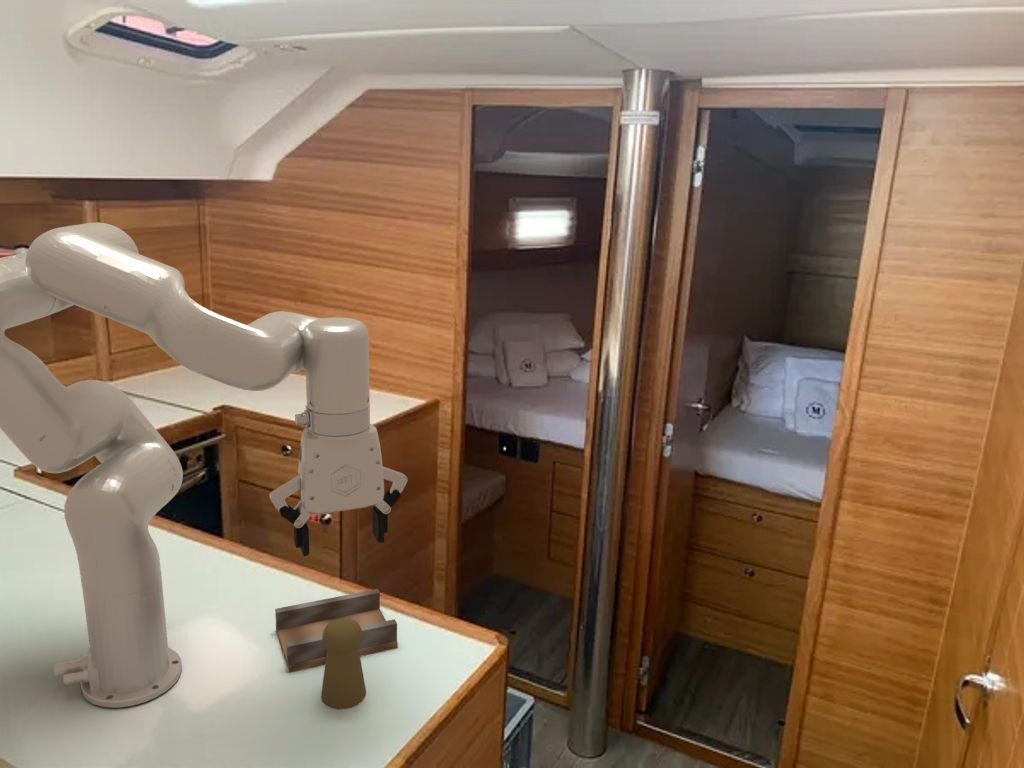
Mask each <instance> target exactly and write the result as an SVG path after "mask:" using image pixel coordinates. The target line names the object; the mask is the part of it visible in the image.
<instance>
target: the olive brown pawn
mask: <svg viewBox="0 0 1024 768" xmlns="http://www.w3.org/2000/svg"><path fill="white" fill-rule="evenodd" d="M361 640H362V630H361V627H360V625H359V624H358V623H357V622H356V621H355V620H352V619H347V618H341V619H336V620H334V621H331V622H330V623H329V624H328V625H327V626H326V627H325V629H324V632H323V643H324V646H325V648H326V649H327V654H326V662H325V664H324V671H323V680H322V687H321V694H320V695H321V696H320V699H321V702H322V703H323V704H324V705H325V706H326V707H329V708H330V709H335V710H347V709H351V708H354V707H356V706H359V705H360V704H361V703H362V702H363V701H364V700H365V697H366V695H367V689H366V683H365V677H364V672H363V666H362V660H361V659H362V658H361V656H360V653H359V647H358V646H359V645H360V644H361Z"/></svg>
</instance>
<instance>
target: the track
mask: <svg viewBox="0 0 1024 768" xmlns="http://www.w3.org/2000/svg"><path fill="white" fill-rule="evenodd" d="M380 594H381V593H380V591H379V588H375V589H370V590H366V591H360V592H354V593H350V594H345V595H339V596H334V597H329V598H324V599H318V600H314V601H307V602H303V603H298V604H292V605H288V606H282V607H278V608H274V609H275V610H274V611H275V631H276V635H277V638H278V641H279V644H280V649H281V652H282V654H283V657H284V661H285V664H286V668H287V671H288V673H293V672H297V671H301V670H302V671H303V670H306V669H310V668H314V667H315V668H316V667H319V666H325V662H326V654H327V649H326V648H325V646H324V643H323V632H324V629H325V627H326V626H327V625H328V624H329V623H330V622H331V621H334V620H336V619H341V618H347V619H352V620H355V621H356V622H357V623H358V624H359V625H360V627H361V630H362V640H361V644H360V645H359V646H358V647H359V653H360V657H363V656H367V655H368V656H369V655H372V654H375V653H381V652H384V651H389V650H390V651H391V650H393V649H398V646H399V645H398V644H399V643H398V623H397V621H396V619H395V618H394V619H390V620H389V619H388V620H386V618H385V616H384V614H383V611H382V610H381V595H380Z"/></svg>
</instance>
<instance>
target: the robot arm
mask: <svg viewBox="0 0 1024 768" xmlns="http://www.w3.org/2000/svg"><path fill="white" fill-rule="evenodd" d="M185 283H186V282H185V279H184V276H183V274H182V273H181V271H180V270H178V269H177V268H175V267H173V266H170V265H168V264H165V263H163V262H160V261H158V260H156V259H152V258H151V257H147V256H145V255H142V254H140V253H139V249H138V247H137V244H136V242H135V241H134V239H132V237H131V236H130V235H129V234H127V233H126V231H124V230H122V229H121V228H119V227H118V226H115V225H112V224H109V223H106V222H97V221H96V222H87V223H80V224H73V225H67V226H61V227H56V228H53V229H50V230H48V231H45V232H43V233H42V234H40V235H39V236H38V237H36V238H35V239H34V240H33V241H32V243H31V244H30V245H29V248H28V249H27V251H24V252H21V253H18V254H13V255H8V256H3V257H0V429H1V431H2V432H3V433H4V434H5V435H6V437H7V438H8V439H9V440H10V441H11V442H12V443H13V445H14V446H15V447H16V448H17V449H18V450H19V451H20V452H21V454H22V455H23V456H24V457H25V458H26V459H27V460H28V461H29V462H30V463H31V464H32V465H34V466H35V467H36V468H37V469H39V470H41V471H43V472H44V473H50V474H60V473H65V472H68V471H70V470H72V469H75V468H76V467H79V466H80V465H81V464H84V463H85V462H86V461H89V460H90V459H92V458H93V457H95V458H96V459H97V460H98V461H99V462H100V464H98V465H97V466H95V467H94V468H92V469H91V470H90V471H89V472H87V473H85V475H83V476H82V477H81V478H80V479H78V481H77V482H76V483H75V484H74V485H73V487H72V488H71V489H70V491H69V493H68V494H67V495H66V499H65V502H64V508H63V513H64V521H65V524H66V527H67V529H68V532H69V534H70V537H71V540H72V542H73V545H74V550H75V553H76V557H77V561H78V562H77V563H78V569H79V575H80V577H79V578H80V584H81V589H82V597H83V605H84V613H85V621H86V627H87V628H86V629H87V637H88V643H89V644H88V646H89V647H88V654H86V655H81V656H80V659H75V660H67V661H61V662H57V663H54V664H53V665H54V666H53V672H54V673H53V674H54V679H59V678H63V685H64V686H68V685H73V684H76V683H80V689H81V693H82V696H83V697H84V699H86V701H88V702H89V703H90V704H92V705H96V706H99V707H104V708H112V709H113V708H114V709H115V708H117V709H118V708H125V707H126V708H127V707H132V706H136V705H140V704H143V703H147V702H148V701H151V700H153V699H155V698H157V697H159V696H160V695H162V694H165V693H166V692H167V691H168V690H169V689H170V688H172V687H173V686H174V685H175V684H176V682H178V680H179V678H180V677H181V675H182V671H183V668H182V667H183V666H182V665H183V664H182V658H181V657H180V655H179V653H178V652H176V651H175V650H173V649H172V648H169V643H168V642H169V641H168V633H167V632H168V631H167V623H166V611H165V609H166V608H165V599H164V598H165V597H164V589H163V588H164V587H163V578H162V577H163V576H162V569H161V559H160V554H159V551H158V547H157V544H156V543H155V541H154V539H153V538H152V536H151V534H150V532H149V523H150V520H152V518H153V517H155V515H156V514H157V513H159V511H160V510H161V509H162V508H164V507H165V506H166V505H167V504H168V503H169V502H171V500H172V499H173V498H174V497H175V496H176V495H177V494H178V492H179V490H180V489H181V486H182V485H183V484H182V483H183V481H184V480H183V479H184V478H183V477H184V476H183V475H184V473H183V471H184V470H183V467H182V464H181V462H180V459H179V458H178V456H177V454H176V453H175V451H174V450H173V448H172V447H171V445H170V444H169V443H167V441H166V440H165V438H164V437H163V436H162V434H161V433H160V432H158V430H157V428H155V426H153V424H152V423H151V421H149V419H148V418H147V417H146V416H145V414H144V413H143V412H142V411H141V410H140V409H139V407H138V406H137V405H136V404H135V403H134V401H133V400H132V399H131V397H129V396H128V394H126V393H125V392H124V391H122V390H121V389H120V388H118V387H117V386H115V385H113V384H111V383H108V382H105V381H102V380H99V379H98V380H97V379H85V380H81V381H76V382H74V383H72V384H70V385H67V386H65V385H64V384H63V383H62V382H60V380H59V379H58V378H57V377H56V376H55V375H54V373H53V372H51V370H50V369H49V368H48V366H47V365H46V364H45V362H43V361H42V360H41V359H40V358H39V357H38V356H37V355H36V354H34V353H33V352H32V351H31V350H29V349H28V348H26V347H25V346H23V345H21V344H19V343H17V342H16V341H14V340H11V338H9V337H7V336H6V335H5V331H6V330H8V329H10V328H14V327H18V326H20V325H24V324H27V323H30V322H32V321H35V320H39V319H42V318H46V317H47V316H50V315H54V314H56V313H59V312H61V311H63V310H65V309H68V308H70V307H73V306H75V307H76V306H77V307H79V308H81V309H84V310H86V311H89V312H92V313H94V314H97V315H100V316H102V317H105V318H107V319H109V320H113V321H114V322H117V323H120V324H122V325H125V326H127V327H129V328H131V329H135V330H137V331H139V332H141V333H143V334H146V335H147V336H149V338H151V340H152V341H153V342H154V343H155V345H156V346H157V347H158V348H159V349H161V350H162V351H163V352H164V353H165V354H166V355H168V356H169V357H170V358H171V359H172V360H174V361H175V362H176V363H178V364H179V365H181V366H183V367H184V368H187V370H190V371H193V373H194V372H195V373H197V374H198V375H201V376H204V377H206V378H208V379H211V380H214V381H215V382H219V383H220V384H224V385H227V386H229V387H232V388H234V389H239V390H244V391H251V392H261V391H266V390H270V389H272V388H275V387H276V386H278V385H279V384H280V383H282V382H283V381H285V379H287V378H288V377H289V376H290V375H292V374H294V373H295V374H296V373H297V372H300V371H304V372H305V388H306V389H305V391H306V392H305V393H306V405H305V409H304V411H303V412H301V413H297V414H294V420H295V421H294V422H295V425H296V426H300V425H301V426H305V428H303V431H302V432H301V433H302V434H301V438H300V445H299V453H298V466H297V467H298V469H297V475H296V476H295V477H293V478H292V479H289V480H288V481H286V482H285V483H283V484H282V485H280V486H278V487H276V488H275V489H274V490H272V491H270V492H269V495H268V496H269V499H270V501H271V503H272V504H273V506H274V507H275V509H276V510H277V512H278V513H279V515H280V516H281V517H282V518H284V519H285V520H286V521H288V522H289V523H291V524H292V525H293V538H294V547H295V548H296V549H298V548H299V549H300V552H301V553H302V555H303V557H307V556H309V555H310V533H309V532H310V531H309V526H308V524H307V521H308V520H309V519H310V517H311V516H312V515H324V514H332V513H338V512H339V513H340V512H344V511H350V510H358V509H363V508H369V507H372V509H371V510H372V511H371V516H372V517H371V519H372V520H371V521H372V522H371V523H372V529H371V530H372V535H373V536H374V538H375V539H376V541H377V543H380V544H382V543H385V534H387V533H388V530H389V529H388V526H389V525H388V524H389V523H388V515H389V513H391V512H392V511H391V510H392V507H393V506H395V504H396V503H397V502H398V501H399V500H400V498H401V495H402V492H403V491H404V489H405V487H406V485H407V483H408V476H406V475H405V474H404V473H403V472H400V471H397V470H394V469H391V468H389V467H385V466H383V457H382V449H381V444H380V439H379V437H380V436H379V433H378V429H377V427H376V426H375V425H373V424H372V423H371V407H370V406H371V405H370V404H371V403H370V402H371V401H370V400H371V399H370V396H371V395H370V338H369V337H370V336H369V329H368V328H367V326H366V325H365V323H364V322H362V321H361V320H358V319H355V318H350V317H339V316H337V317H323V318H322V317H316V316H310V315H306V314H301V313H297V312H292V311H281V310H280V311H272V312H270V313H267V314H265V315H263V316H262V317H259V318H258V319H255V320H253V321H252V322H250V323H248V324H245V323H242V322H239V321H236V320H235V319H232V318H228V317H226V316H224V315H221V314H219V313H217V312H214V311H212V310H210V309H208V308H206V307H204V306H203V305H201V304H199V303H198V302H196V301H195V299H193V298H191V297H190V295H189V294H188V293H187V292H186V290H185V289H186V286H185V285H186V284H185ZM385 480H386V481H388V482H392V484H391V487H389V489H388V490H386V491H385ZM297 492H298V497H299V499H300V500H299V501H298V503H297V504H296V505H295V507H294V508H293V507H292V506H290V505H289V504H287V502H286V499H287V498H289V497H290V496H291V495H293V494H295V493H297Z"/></svg>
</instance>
